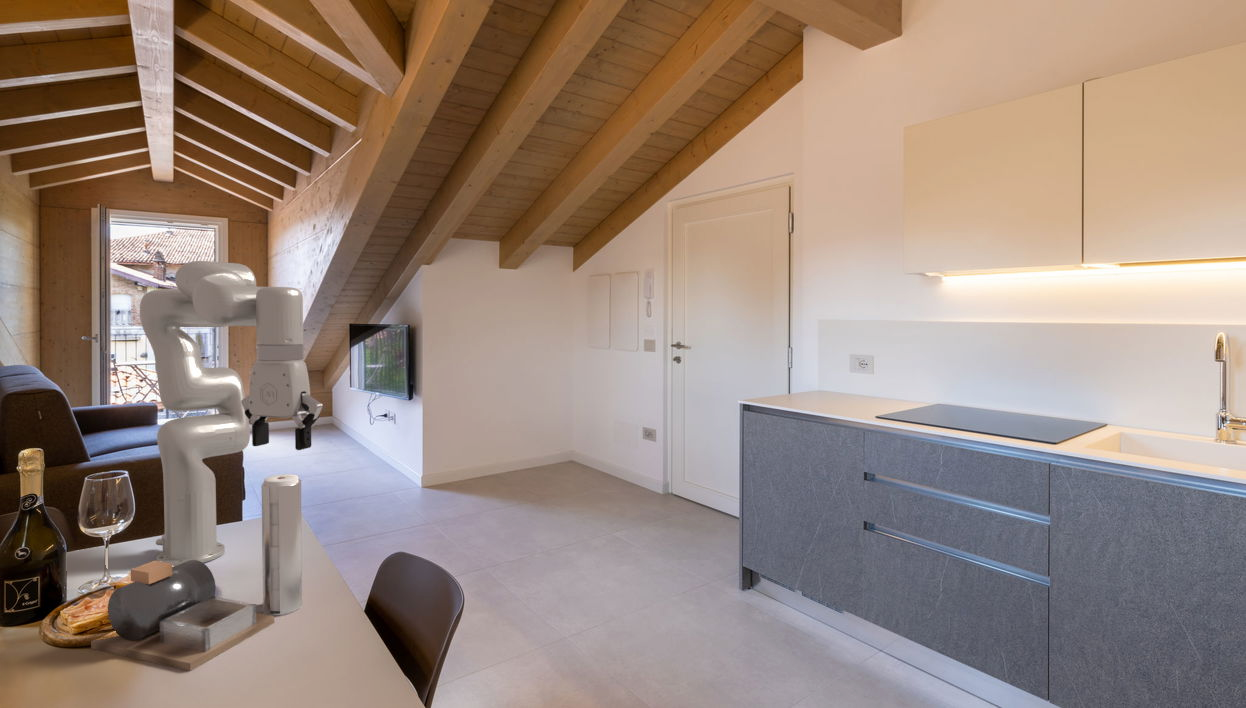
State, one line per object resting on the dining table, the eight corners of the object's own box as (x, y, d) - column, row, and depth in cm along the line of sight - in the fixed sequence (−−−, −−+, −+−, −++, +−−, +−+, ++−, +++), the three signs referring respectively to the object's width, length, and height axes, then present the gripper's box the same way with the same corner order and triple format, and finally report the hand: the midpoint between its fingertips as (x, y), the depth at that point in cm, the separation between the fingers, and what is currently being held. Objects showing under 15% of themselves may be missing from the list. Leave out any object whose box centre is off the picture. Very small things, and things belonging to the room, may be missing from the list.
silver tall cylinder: (310, 604, 119) (309, 475, 117) (278, 619, 113) (277, 483, 111) (286, 597, 122) (285, 470, 120) (255, 611, 116) (253, 478, 114)
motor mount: (91, 648, 102) (89, 576, 101) (184, 605, 117) (182, 542, 117) (190, 670, 96) (188, 594, 96) (274, 622, 112) (273, 556, 111)
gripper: (225, 354, 113) (227, 447, 114) (303, 357, 108) (304, 454, 109) (259, 352, 120) (261, 440, 121) (334, 354, 116) (335, 446, 117)
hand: (281, 446), depth 115 cm, fingers open, 9 cm apart
